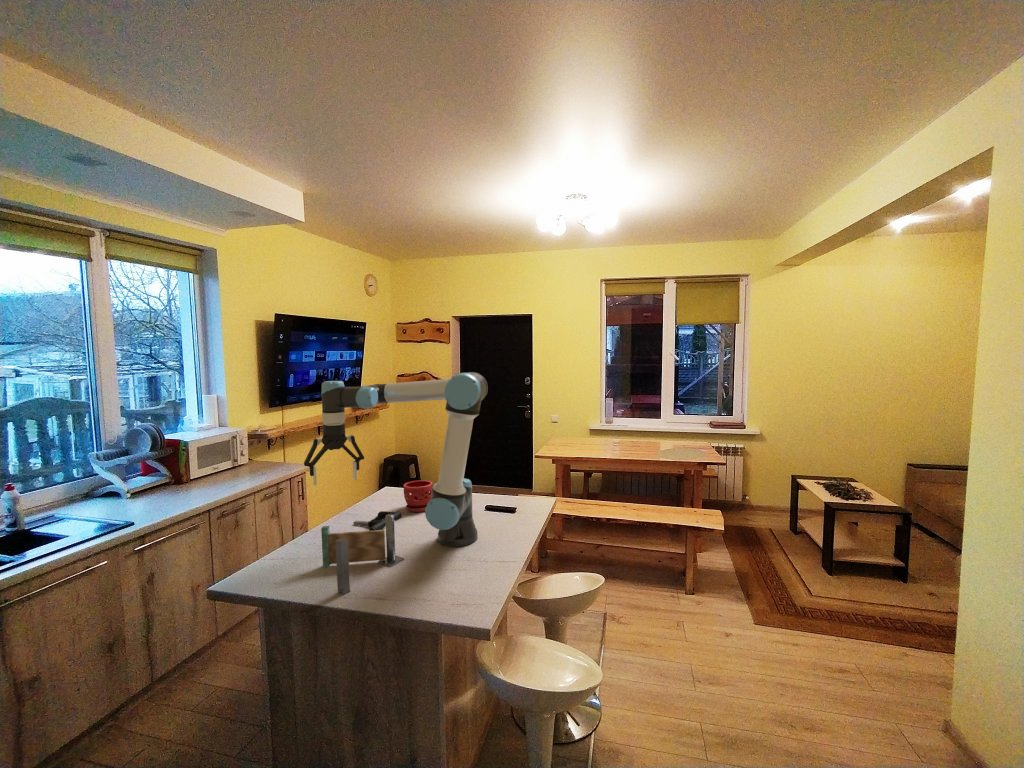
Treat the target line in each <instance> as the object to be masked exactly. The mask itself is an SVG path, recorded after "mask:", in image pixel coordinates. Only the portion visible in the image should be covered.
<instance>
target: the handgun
mask: <svg viewBox="0 0 1024 768" xmlns="http://www.w3.org/2000/svg"><path fill="white" fill-rule="evenodd" d="M388 514H394V523H396V522H395V521H397V520H399V519H400V518H402V516H403V512H402V511H400V510H398V511H382V510H381V511H379V512H378V513H377V516H376V517H375V518H374V517H373V518H372V519H371V520H370V521H366V520H365V521H364V520H355V521H353V525H354V526H357V525H360V526H359V527H364V526H367V528H368V531H372V530H385V529H386V518H385V516H386V515H388ZM384 518H385V519H384ZM369 527H370V528H369ZM384 528H385V529H384Z"/></svg>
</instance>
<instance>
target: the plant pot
mask: <svg viewBox="0 0 1024 768" xmlns="http://www.w3.org/2000/svg"><path fill="white" fill-rule="evenodd" d="M433 485H434V484H433V482H432V481H430V480H422V479H421V480H413V481H412V480H411V481H408V482H405V483H404V484H403V496H404V500H405V503H406V506H405V508H406V510H408V511H409V512H412V513H420V512H425V509H426V506H427V504H428V502H429V501H430V500H431V495H432V489H433Z"/></svg>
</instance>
